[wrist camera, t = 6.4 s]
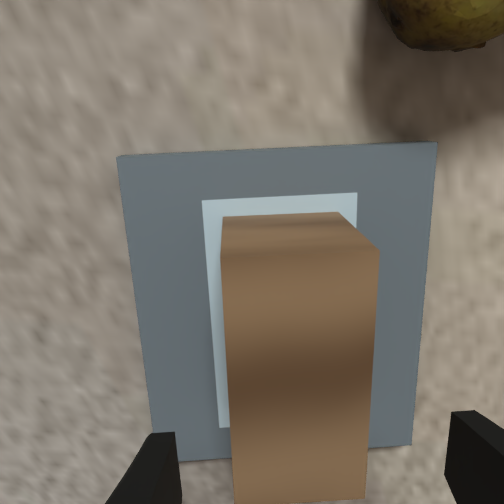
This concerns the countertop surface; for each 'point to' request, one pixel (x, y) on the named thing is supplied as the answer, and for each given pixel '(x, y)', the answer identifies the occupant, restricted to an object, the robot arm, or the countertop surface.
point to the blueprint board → (209, 269)
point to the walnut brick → (298, 355)
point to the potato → (444, 22)
